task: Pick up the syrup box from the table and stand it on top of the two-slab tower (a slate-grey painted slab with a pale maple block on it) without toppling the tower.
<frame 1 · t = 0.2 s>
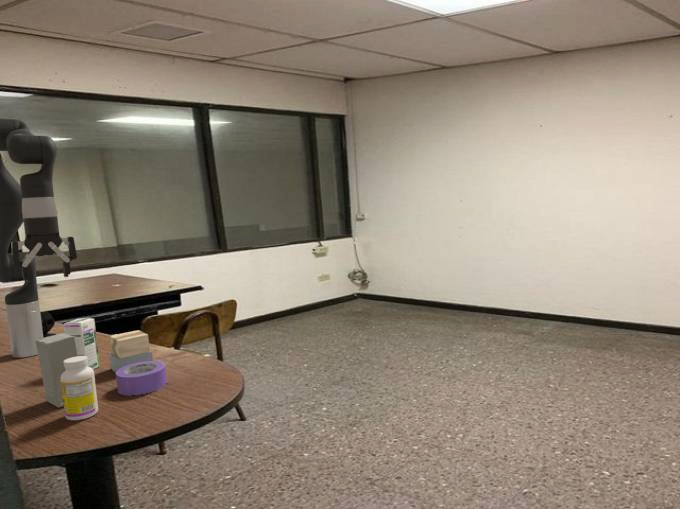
hand: (47, 279, 132), 28 cm above the table, tool pointing down, fingers open, 8 cm apart
maple block: (130, 352, 145), point 5 cm above the table, touching slate slab
tape roll: (142, 388, 130), on the table
syrup box: (85, 370, 147), on the table
supplement bottle: (82, 416, 114), on the table
slate slab: (132, 369, 146), on the table, touching maple block
skincare box: (64, 401, 123), on the table
webcam: (45, 339, 187), on the table
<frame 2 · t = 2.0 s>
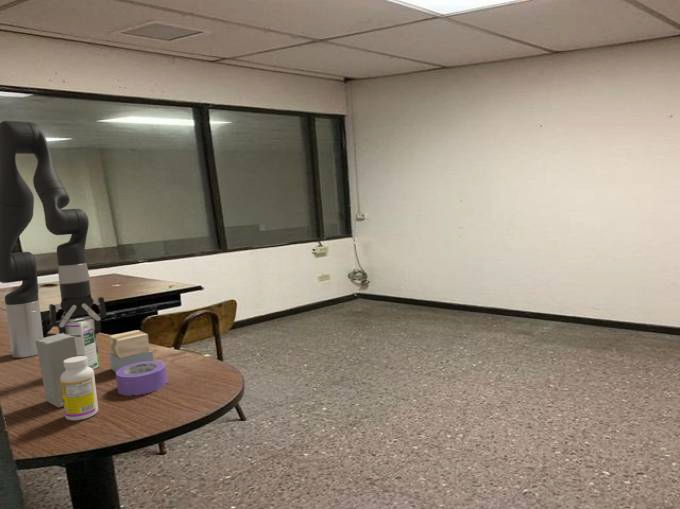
hand: (81, 336, 146), 10 cm above the table, tool pointing down, fingers open, 8 cm apart
syrup box: (85, 370, 147), on the table, touching gripper
everything else where it was.
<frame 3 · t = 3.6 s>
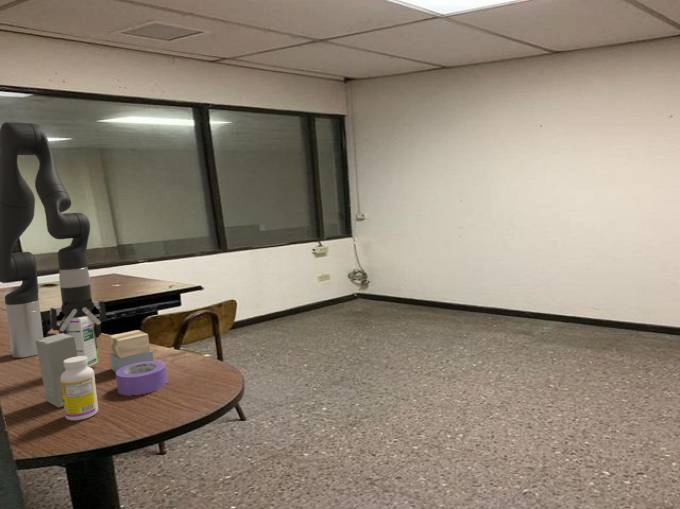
hand: (81, 340, 147), 9 cm above the table, tool pointing down, fingers closed on syrup box, 8 cm apart
syrup box: (84, 365, 148), point 1 cm above the table, touching gripper
everything else where it was.
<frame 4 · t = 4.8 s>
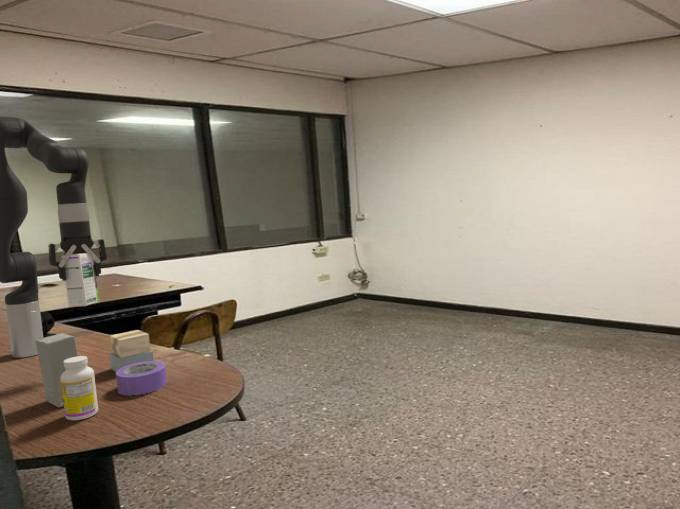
hand: (80, 278, 144), 26 cm above the table, tool pointing down, fingers closed on syrup box, 8 cm apart
syrup box: (83, 304, 145), point 19 cm above the table, touching gripper
everything else where it was.
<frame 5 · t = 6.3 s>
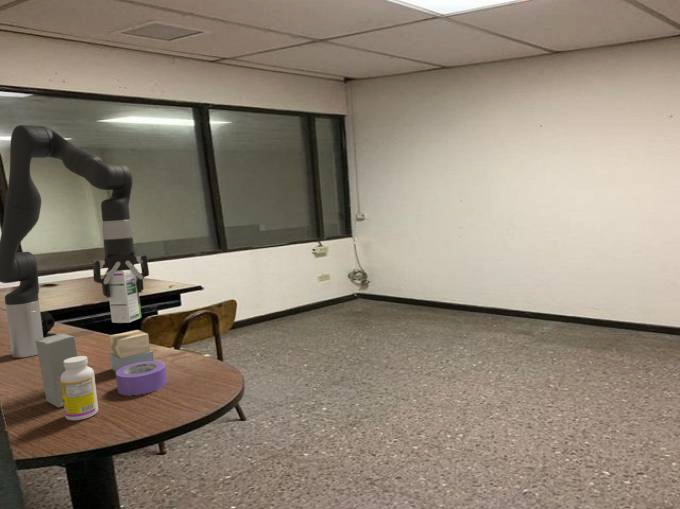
hand: (123, 294, 144), 21 cm above the table, tool pointing down, fingers closed on syrup box, 8 cm apart
syrup box: (126, 321, 145), point 14 cm above the table, touching gripper
everything else where it was.
when the fingers open (18 cm above the table, at t = 7.6 s): syrup box stays where it is, point 10 cm above the table.
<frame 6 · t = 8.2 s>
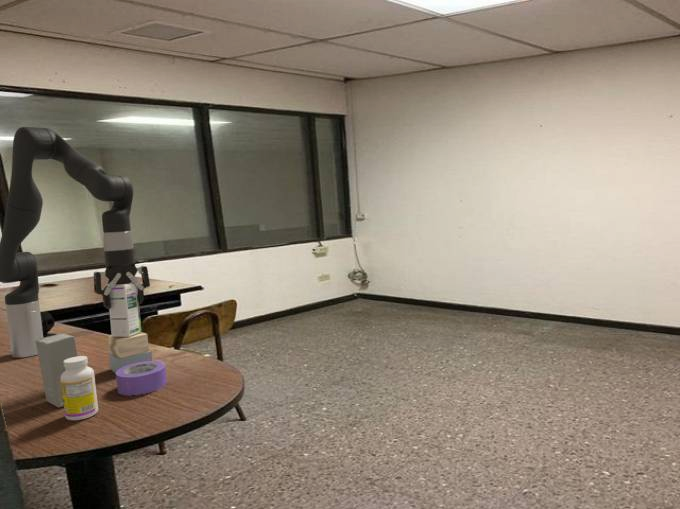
hand: (124, 305, 144), 18 cm above the table, tool pointing down, fingers open, 8 cm apart
syrup box: (126, 335, 145), point 10 cm above the table, touching gripper
everything else where it was.
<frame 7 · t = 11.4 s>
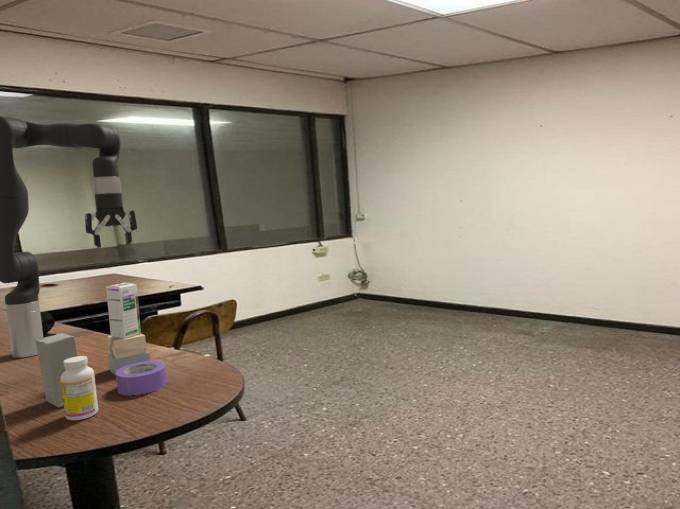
hand: (113, 246, 157), 34 cm above the table, tool pointing down, fingers open, 8 cm apart
maple block: (127, 353, 144), point 5 cm above the table, touching slate slab, syrup box
syrup box: (125, 335, 144), point 10 cm above the table, touching maple block
everything else where it was.
at the end: syrup box 0.3 cm off-centre on the maple block, point 4.9 cm above the maple block's base; syrup box tilted 3°; maple block tilted 0° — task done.
